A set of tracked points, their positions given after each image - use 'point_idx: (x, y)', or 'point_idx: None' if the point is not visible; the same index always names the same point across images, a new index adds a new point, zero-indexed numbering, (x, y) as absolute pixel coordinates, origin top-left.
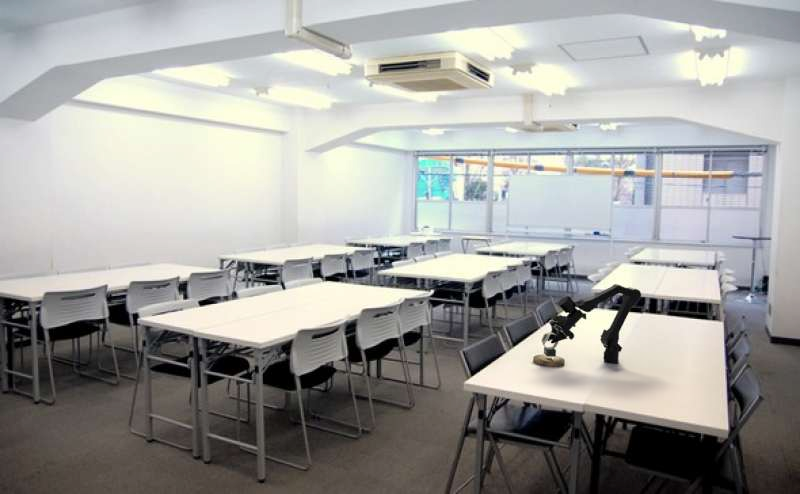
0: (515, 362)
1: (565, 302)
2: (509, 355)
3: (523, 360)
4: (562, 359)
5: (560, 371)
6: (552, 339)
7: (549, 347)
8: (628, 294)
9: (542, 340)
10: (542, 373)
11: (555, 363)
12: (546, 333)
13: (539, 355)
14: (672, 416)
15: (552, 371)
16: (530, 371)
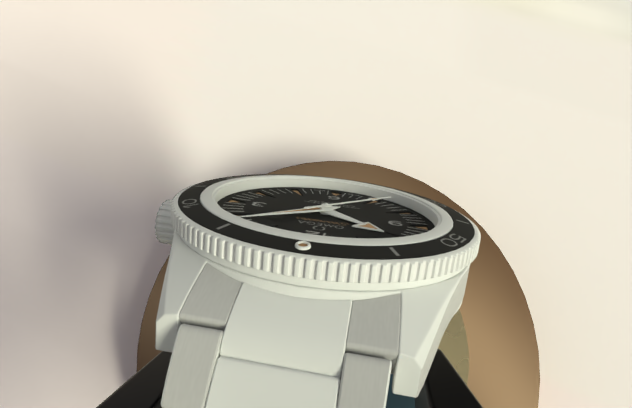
0: (372, 7)
1: None
2: (628, 21)
3: (437, 100)
4: None
5: (21, 332)
6: (155, 387)
7: (397, 394)
8: None
9: (333, 178)
10: (18, 129)
11: (140, 344)
12: (341, 249)
13: (486, 284)
14: None
15: (44, 247)
16: (95, 49)
